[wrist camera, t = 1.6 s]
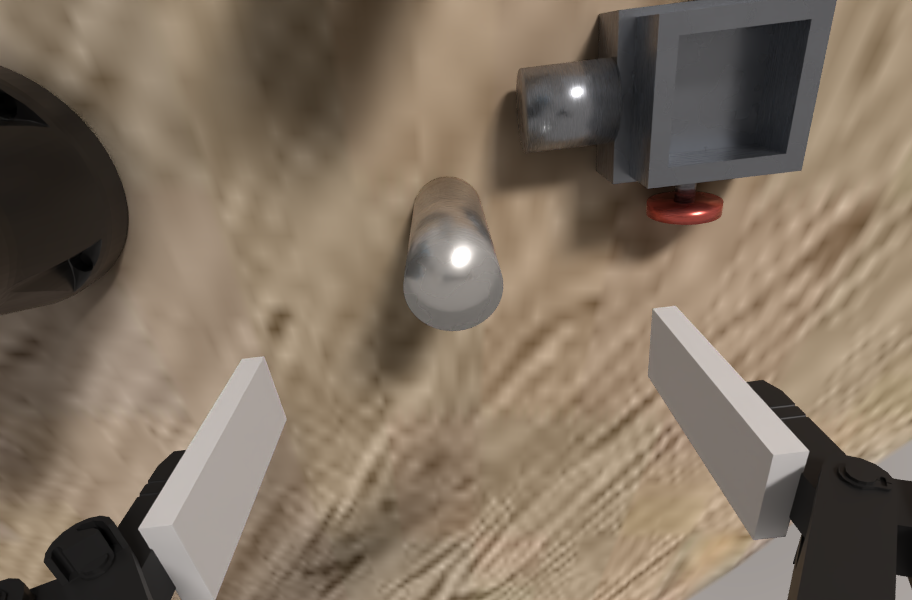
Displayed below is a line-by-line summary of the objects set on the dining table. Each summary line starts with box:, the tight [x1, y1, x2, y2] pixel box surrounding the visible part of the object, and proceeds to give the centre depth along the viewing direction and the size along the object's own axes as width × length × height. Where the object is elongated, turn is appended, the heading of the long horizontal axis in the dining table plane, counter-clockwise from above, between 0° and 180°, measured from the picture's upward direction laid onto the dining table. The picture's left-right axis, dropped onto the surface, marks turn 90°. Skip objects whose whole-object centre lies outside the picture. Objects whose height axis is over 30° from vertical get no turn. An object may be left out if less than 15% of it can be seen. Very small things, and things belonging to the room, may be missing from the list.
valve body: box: [516, 0, 837, 225], centre depth 28 cm, size 15×12×6 cm
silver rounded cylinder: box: [403, 177, 503, 331], centre depth 28 cm, size 5×5×12 cm
